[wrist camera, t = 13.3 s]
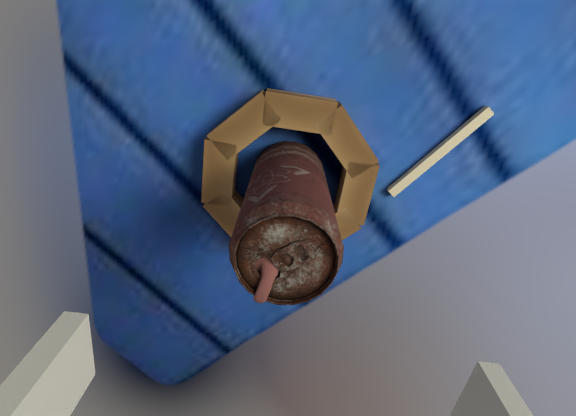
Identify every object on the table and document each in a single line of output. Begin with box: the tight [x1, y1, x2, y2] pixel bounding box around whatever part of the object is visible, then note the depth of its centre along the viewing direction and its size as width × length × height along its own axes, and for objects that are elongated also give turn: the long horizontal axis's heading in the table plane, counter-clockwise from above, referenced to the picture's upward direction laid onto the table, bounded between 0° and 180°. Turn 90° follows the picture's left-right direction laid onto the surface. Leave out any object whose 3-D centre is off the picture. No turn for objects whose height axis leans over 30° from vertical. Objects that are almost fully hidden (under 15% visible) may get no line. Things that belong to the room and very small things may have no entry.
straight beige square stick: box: [387, 106, 494, 197], centre depth 29 cm, size 10×1×1 cm, turn 136°
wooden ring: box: [201, 88, 379, 240], centre depth 30 cm, size 14×14×2 cm
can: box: [229, 141, 344, 305], centre depth 24 cm, size 6×6×14 cm
